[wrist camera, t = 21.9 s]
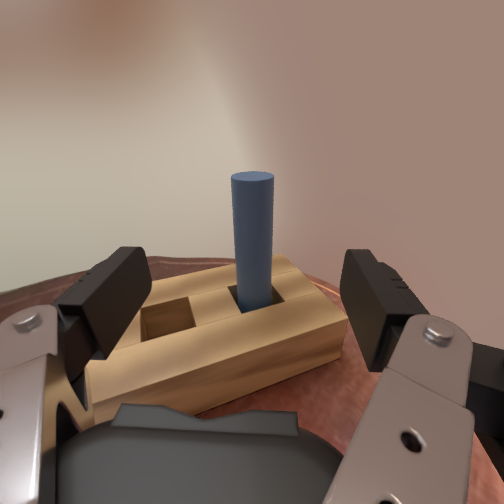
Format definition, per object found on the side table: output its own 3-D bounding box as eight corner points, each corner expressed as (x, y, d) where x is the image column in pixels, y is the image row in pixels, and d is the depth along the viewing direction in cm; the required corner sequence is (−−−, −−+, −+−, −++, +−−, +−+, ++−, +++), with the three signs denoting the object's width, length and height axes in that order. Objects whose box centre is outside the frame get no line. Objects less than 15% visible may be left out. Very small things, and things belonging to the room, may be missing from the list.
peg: (262, 317, 28) (263, 169, 21) (275, 338, 26) (281, 177, 18) (235, 325, 27) (225, 173, 20) (245, 348, 25) (239, 182, 17)
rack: (111, 330, 27) (96, 293, 25) (280, 286, 33) (282, 253, 31) (96, 453, 17) (70, 411, 15) (340, 358, 24) (349, 317, 21)
